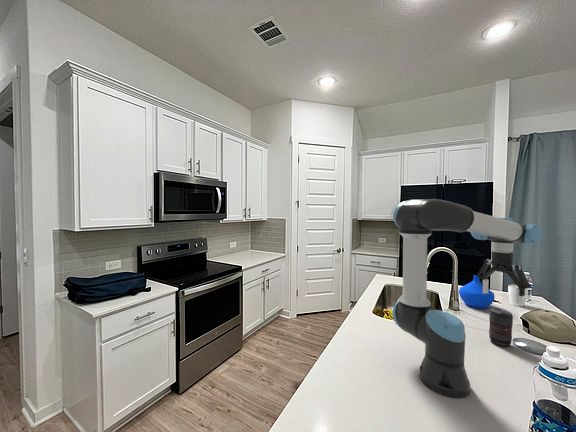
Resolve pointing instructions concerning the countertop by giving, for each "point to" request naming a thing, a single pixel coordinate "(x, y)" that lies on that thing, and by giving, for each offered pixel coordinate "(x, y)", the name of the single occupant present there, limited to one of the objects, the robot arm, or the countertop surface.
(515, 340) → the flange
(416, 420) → the countertop surface
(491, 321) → the camera lens
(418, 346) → the countertop surface
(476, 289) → the vase
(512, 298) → the cup
